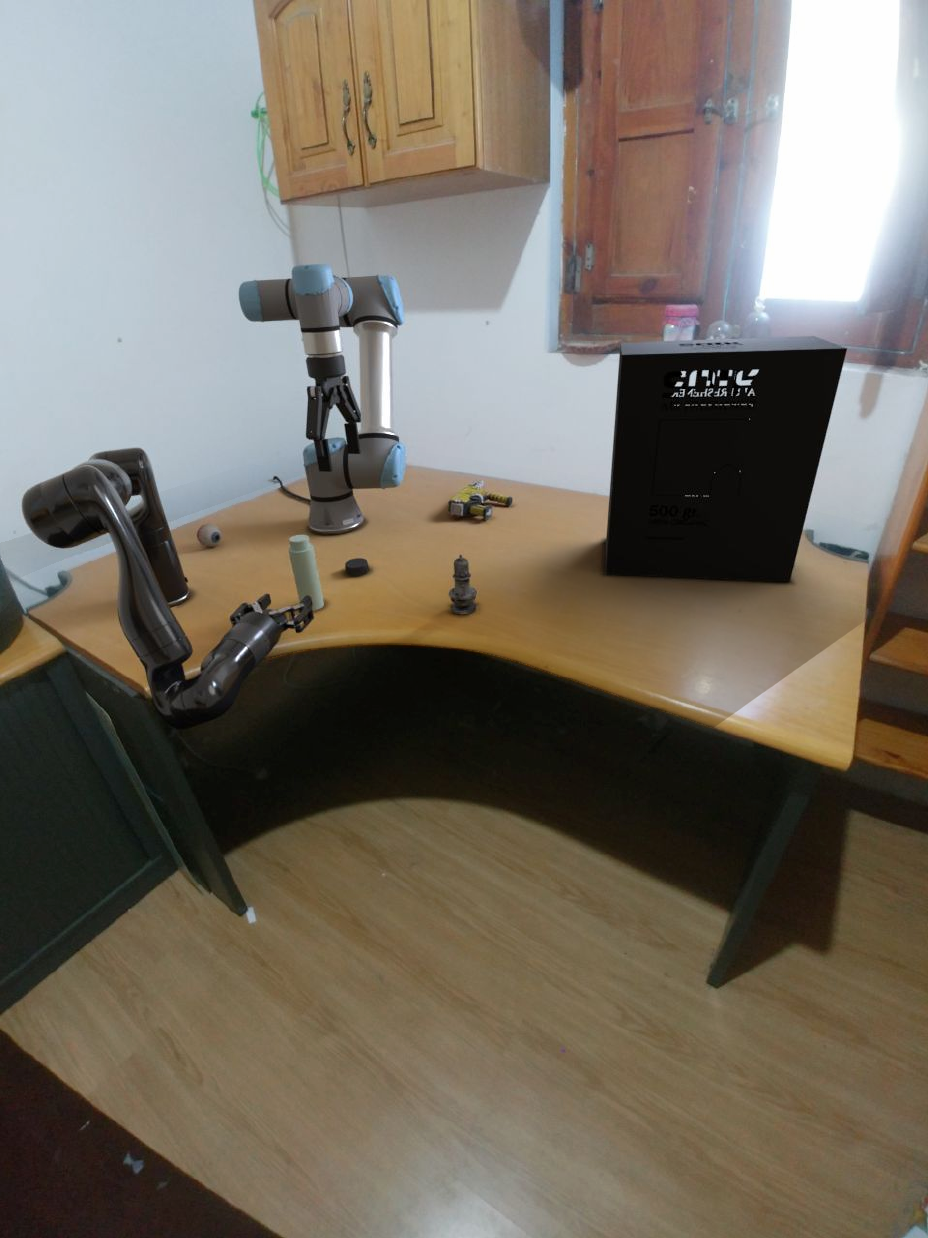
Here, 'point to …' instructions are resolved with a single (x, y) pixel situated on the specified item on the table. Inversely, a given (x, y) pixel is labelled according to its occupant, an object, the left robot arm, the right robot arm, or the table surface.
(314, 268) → the right robot arm
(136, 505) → the left robot arm
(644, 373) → the cardboard box
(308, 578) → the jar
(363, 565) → the lid
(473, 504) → the toy gun
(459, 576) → the dark grey turned figure
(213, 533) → the eyeball
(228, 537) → the table surface
